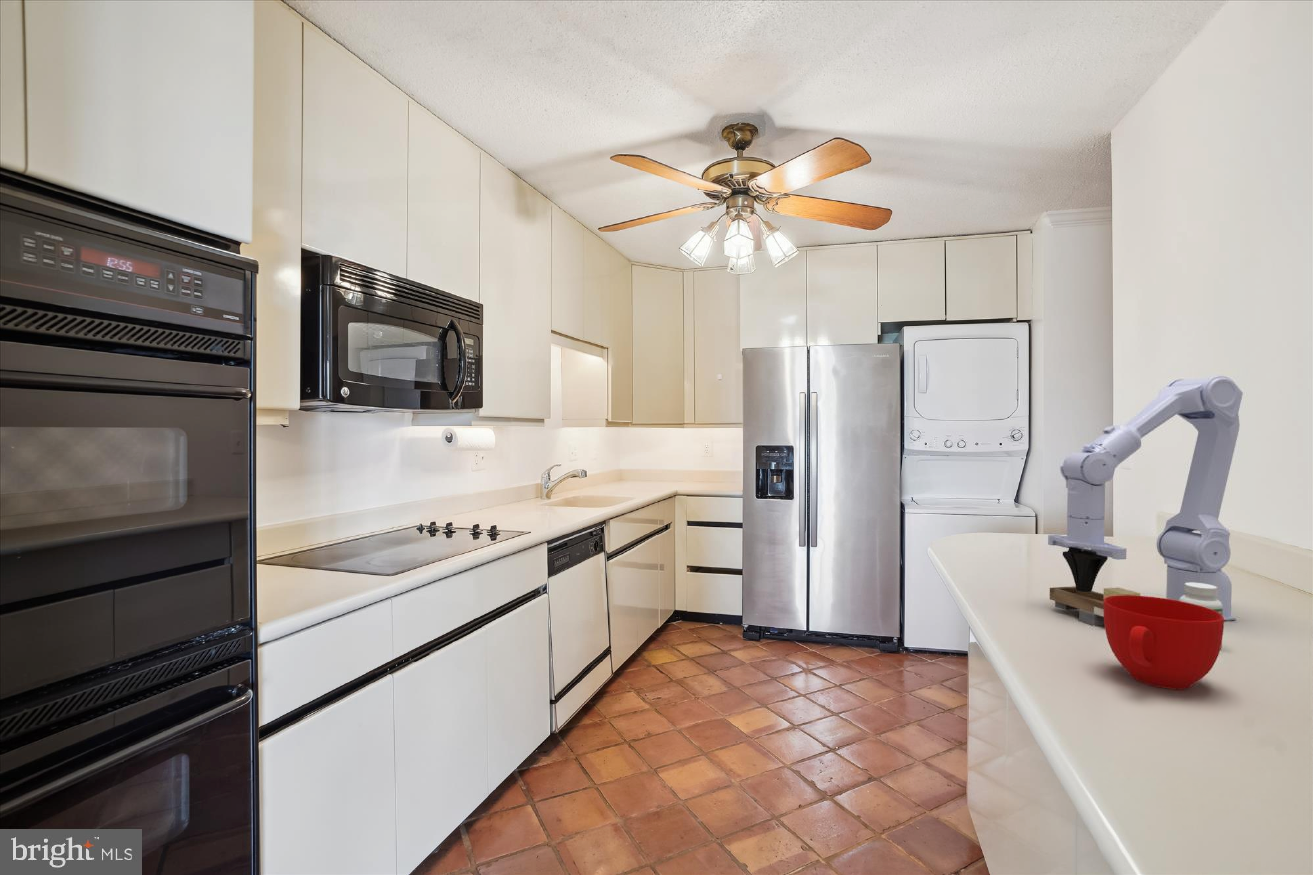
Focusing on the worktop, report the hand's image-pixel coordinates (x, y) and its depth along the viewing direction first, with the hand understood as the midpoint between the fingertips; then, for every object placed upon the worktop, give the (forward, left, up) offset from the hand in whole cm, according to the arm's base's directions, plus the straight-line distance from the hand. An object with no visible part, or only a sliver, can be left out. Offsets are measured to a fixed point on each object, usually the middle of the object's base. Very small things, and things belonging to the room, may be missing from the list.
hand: (1084, 590), depth 117 cm
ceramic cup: (+18, +28, -5) cm, 34 cm away
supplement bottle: (-5, +17, -5) cm, 18 cm away
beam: (0, +4, -5) cm, 6 cm away
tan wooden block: (0, +7, -1) cm, 7 cm away
